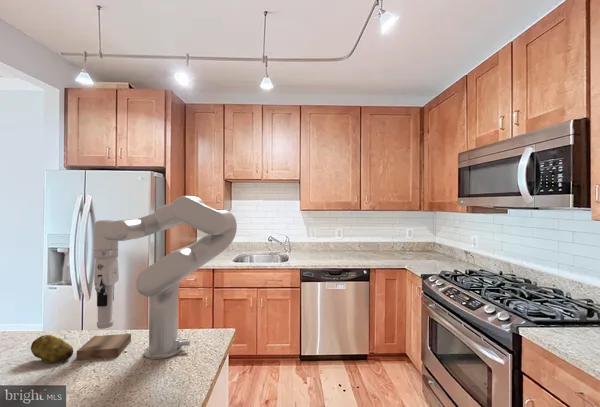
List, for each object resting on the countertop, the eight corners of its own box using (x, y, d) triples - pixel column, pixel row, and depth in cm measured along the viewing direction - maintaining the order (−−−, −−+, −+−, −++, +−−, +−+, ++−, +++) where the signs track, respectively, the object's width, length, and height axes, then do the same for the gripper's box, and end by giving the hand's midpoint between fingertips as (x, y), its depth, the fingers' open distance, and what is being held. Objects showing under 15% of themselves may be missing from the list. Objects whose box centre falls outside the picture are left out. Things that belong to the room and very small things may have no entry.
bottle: (101, 323, 118) (102, 256, 118) (116, 323, 118) (116, 256, 118) (93, 329, 112) (94, 258, 113) (108, 328, 113) (109, 258, 113)
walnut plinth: (130, 341, 123) (130, 333, 123) (118, 356, 110) (118, 348, 110) (94, 344, 120) (94, 336, 120) (76, 360, 108) (76, 351, 108)
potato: (49, 369, 101) (49, 344, 101) (26, 362, 106) (26, 338, 106) (76, 358, 109) (76, 335, 109) (53, 351, 114) (53, 329, 114)
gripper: (107, 257, 108) (107, 310, 108) (125, 250, 125) (125, 296, 124) (83, 257, 107) (82, 311, 106) (104, 250, 123) (104, 297, 123)
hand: (105, 303), depth 115 cm, fingers closed on bottle, 5 cm apart
